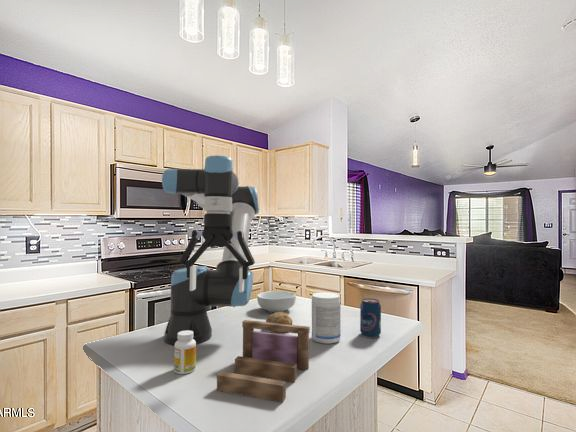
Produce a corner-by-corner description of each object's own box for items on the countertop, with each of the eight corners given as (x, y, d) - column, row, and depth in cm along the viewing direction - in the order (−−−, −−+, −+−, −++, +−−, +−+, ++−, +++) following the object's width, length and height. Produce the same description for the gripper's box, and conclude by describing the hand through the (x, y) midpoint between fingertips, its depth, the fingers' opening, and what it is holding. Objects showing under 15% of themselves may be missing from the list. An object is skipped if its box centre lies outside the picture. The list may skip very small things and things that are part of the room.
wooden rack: (211, 389, 76) (211, 342, 76) (245, 356, 94) (245, 319, 94) (289, 403, 70) (290, 352, 70) (309, 366, 88) (310, 326, 89)
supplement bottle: (197, 365, 88) (198, 329, 88) (192, 374, 83) (193, 336, 83) (177, 365, 88) (178, 329, 88) (171, 374, 82) (171, 336, 83)
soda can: (357, 336, 112) (358, 301, 112) (363, 330, 118) (363, 297, 118) (378, 340, 109) (378, 303, 109) (382, 333, 115) (382, 299, 115)
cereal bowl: (279, 303, 155) (280, 288, 155) (303, 311, 142) (303, 295, 143) (249, 309, 144) (249, 293, 145) (272, 318, 132) (272, 300, 132)
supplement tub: (346, 341, 107) (346, 296, 108) (324, 346, 102) (324, 299, 102) (327, 332, 115) (327, 290, 116) (305, 337, 110) (306, 293, 110)
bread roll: (263, 340, 117) (260, 323, 114) (271, 320, 126) (268, 304, 123) (290, 343, 115) (288, 325, 111) (296, 322, 124) (294, 306, 120)
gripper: (168, 212, 87) (166, 292, 86) (261, 213, 85) (260, 295, 85) (179, 212, 94) (178, 286, 94) (265, 213, 92) (264, 288, 92)
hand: (217, 290), depth 89 cm, fingers open, 13 cm apart
